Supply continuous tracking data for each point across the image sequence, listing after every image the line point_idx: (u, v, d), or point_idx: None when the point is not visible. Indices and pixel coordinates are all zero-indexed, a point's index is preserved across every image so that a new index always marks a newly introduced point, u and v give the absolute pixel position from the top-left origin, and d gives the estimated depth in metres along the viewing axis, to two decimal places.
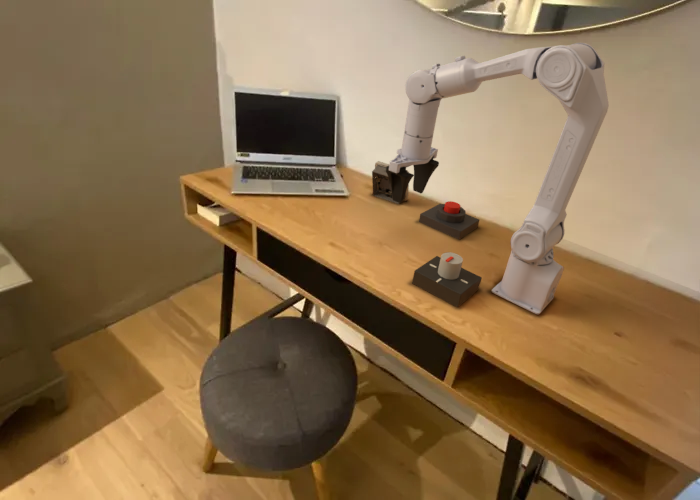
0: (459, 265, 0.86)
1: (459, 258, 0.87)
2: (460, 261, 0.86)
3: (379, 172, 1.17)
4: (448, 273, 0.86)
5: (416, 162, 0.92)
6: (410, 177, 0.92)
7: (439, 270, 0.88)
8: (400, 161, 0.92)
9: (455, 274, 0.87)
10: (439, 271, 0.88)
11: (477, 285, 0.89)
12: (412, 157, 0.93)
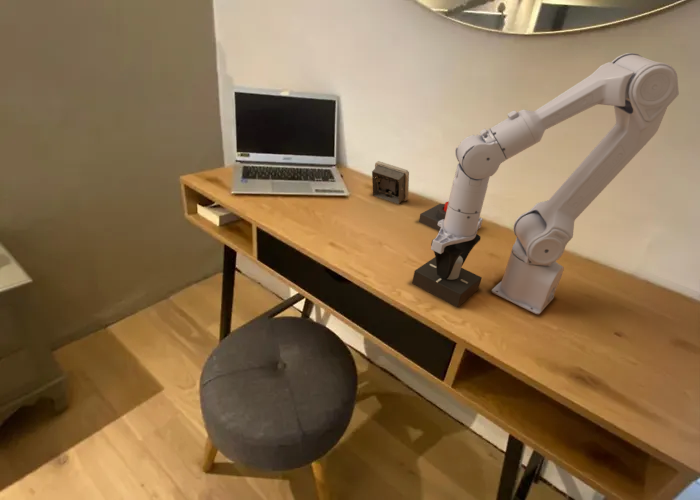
0: (459, 265, 0.86)
1: (459, 258, 0.87)
2: (460, 261, 0.86)
3: (379, 172, 1.17)
4: None
5: (462, 240, 0.81)
6: (460, 254, 0.82)
7: None
8: (444, 239, 0.80)
9: (455, 274, 0.87)
10: None
11: (477, 285, 0.89)
12: (457, 234, 0.81)
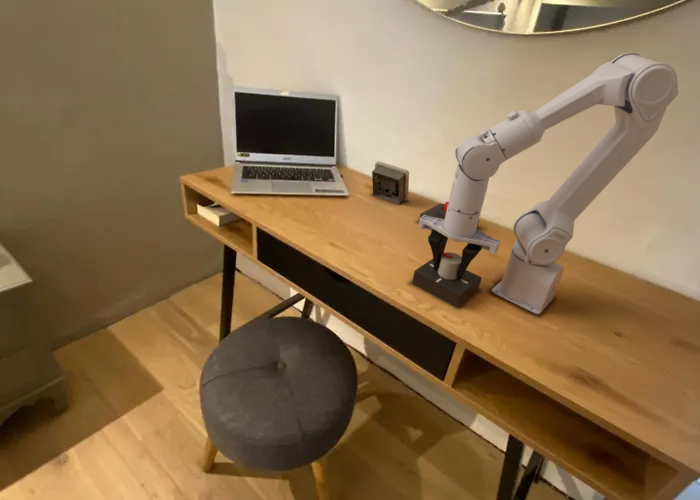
0: (445, 264, 0.86)
1: (454, 262, 0.86)
2: (449, 262, 0.86)
3: (379, 172, 1.17)
4: None
5: (439, 230, 0.83)
6: (434, 242, 0.85)
7: None
8: (431, 221, 0.86)
9: (441, 271, 0.87)
10: None
11: (477, 285, 0.89)
12: (443, 225, 0.84)
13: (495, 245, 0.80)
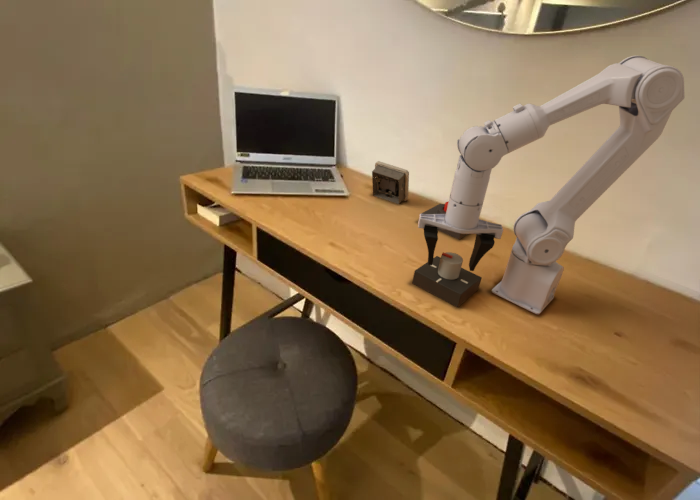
0: (445, 264, 0.86)
1: (454, 262, 0.86)
2: (449, 262, 0.86)
3: (379, 172, 1.17)
4: None
5: (445, 226, 0.81)
6: (432, 239, 0.82)
7: None
8: (431, 218, 0.83)
9: (441, 271, 0.87)
10: None
11: (477, 285, 0.89)
12: (446, 220, 0.82)
13: (501, 230, 0.82)
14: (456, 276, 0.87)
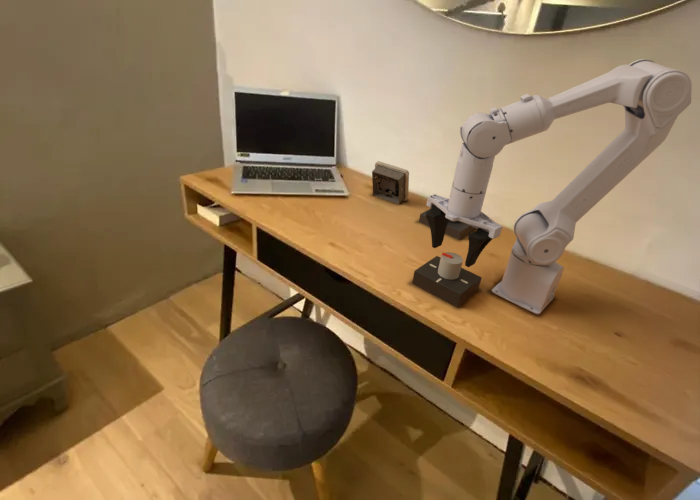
0: (445, 264, 0.86)
1: (454, 262, 0.86)
2: (449, 262, 0.86)
3: (379, 172, 1.17)
4: None
5: None
6: None
7: None
8: None
9: (441, 271, 0.87)
10: None
11: (477, 285, 0.89)
12: (480, 213, 0.81)
13: (435, 195, 0.87)
14: (456, 276, 0.87)
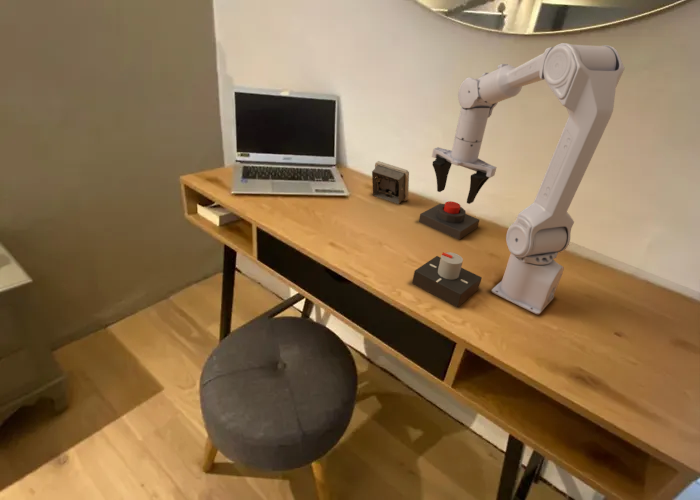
0: (445, 264, 0.86)
1: (454, 262, 0.86)
2: (449, 262, 0.86)
3: (379, 172, 1.17)
4: None
5: None
6: None
7: None
8: None
9: (441, 271, 0.87)
10: None
11: (477, 285, 0.89)
12: (477, 158, 1.01)
13: (438, 148, 1.06)
14: (456, 276, 0.87)
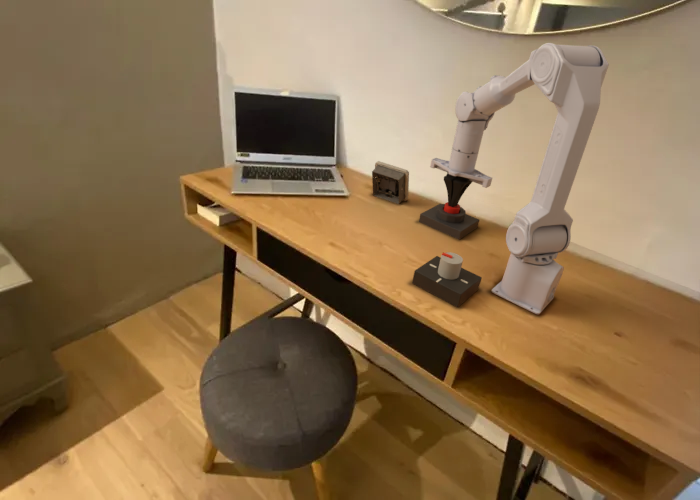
0: (445, 264, 0.86)
1: (454, 262, 0.86)
2: (449, 262, 0.86)
3: (379, 172, 1.17)
4: None
5: None
6: None
7: None
8: None
9: (441, 271, 0.87)
10: None
11: (477, 285, 0.89)
12: (474, 169, 1.04)
13: (436, 158, 1.10)
14: (456, 276, 0.87)
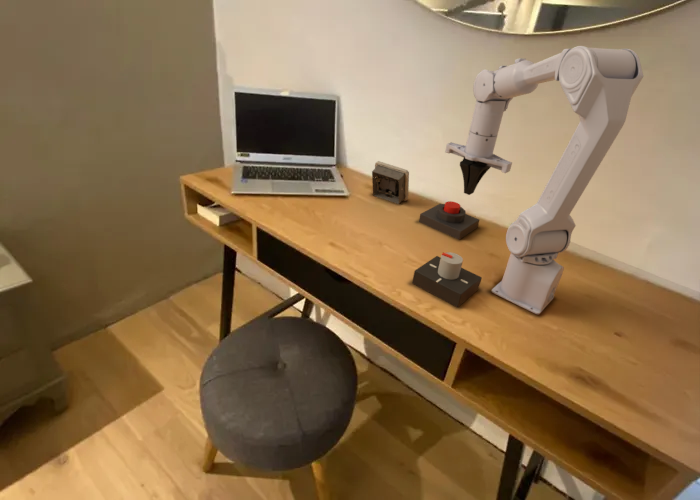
0: (445, 264, 0.86)
1: (454, 262, 0.86)
2: (449, 262, 0.86)
3: (379, 172, 1.17)
4: None
5: None
6: None
7: None
8: None
9: (441, 271, 0.87)
10: None
11: (477, 285, 0.89)
12: (492, 153, 0.98)
13: (452, 143, 1.04)
14: (456, 276, 0.87)
